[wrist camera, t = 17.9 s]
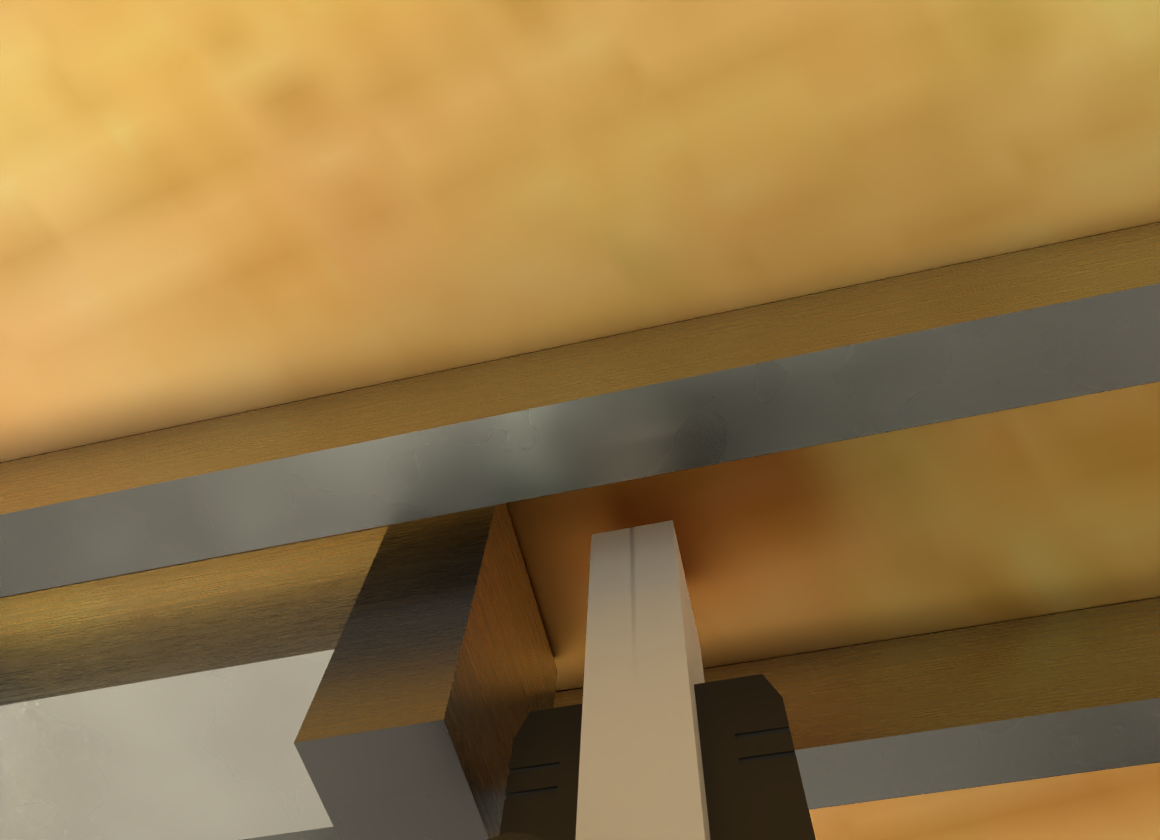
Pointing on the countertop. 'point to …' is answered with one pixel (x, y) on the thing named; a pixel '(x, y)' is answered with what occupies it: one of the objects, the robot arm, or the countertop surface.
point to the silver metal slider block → (277, 691)
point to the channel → (683, 441)
